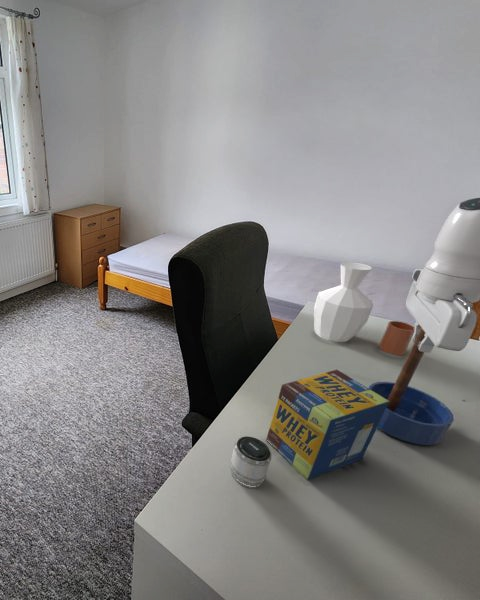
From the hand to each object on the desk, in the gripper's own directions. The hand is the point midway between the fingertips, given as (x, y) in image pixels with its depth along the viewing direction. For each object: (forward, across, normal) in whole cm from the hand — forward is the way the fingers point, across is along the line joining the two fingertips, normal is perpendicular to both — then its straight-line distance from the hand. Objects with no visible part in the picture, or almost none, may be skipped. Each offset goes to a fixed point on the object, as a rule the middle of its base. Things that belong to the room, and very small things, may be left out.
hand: (420, 346), depth 71 cm
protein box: (+20, -18, +16) cm, 31 cm away
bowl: (+20, 0, -2) cm, 20 cm away
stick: (+17, 0, 0) cm, 17 cm away
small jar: (+20, -31, +28) cm, 46 cm away
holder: (+20, +36, -8) cm, 42 cm away
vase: (+20, +38, +7) cm, 44 cm away
